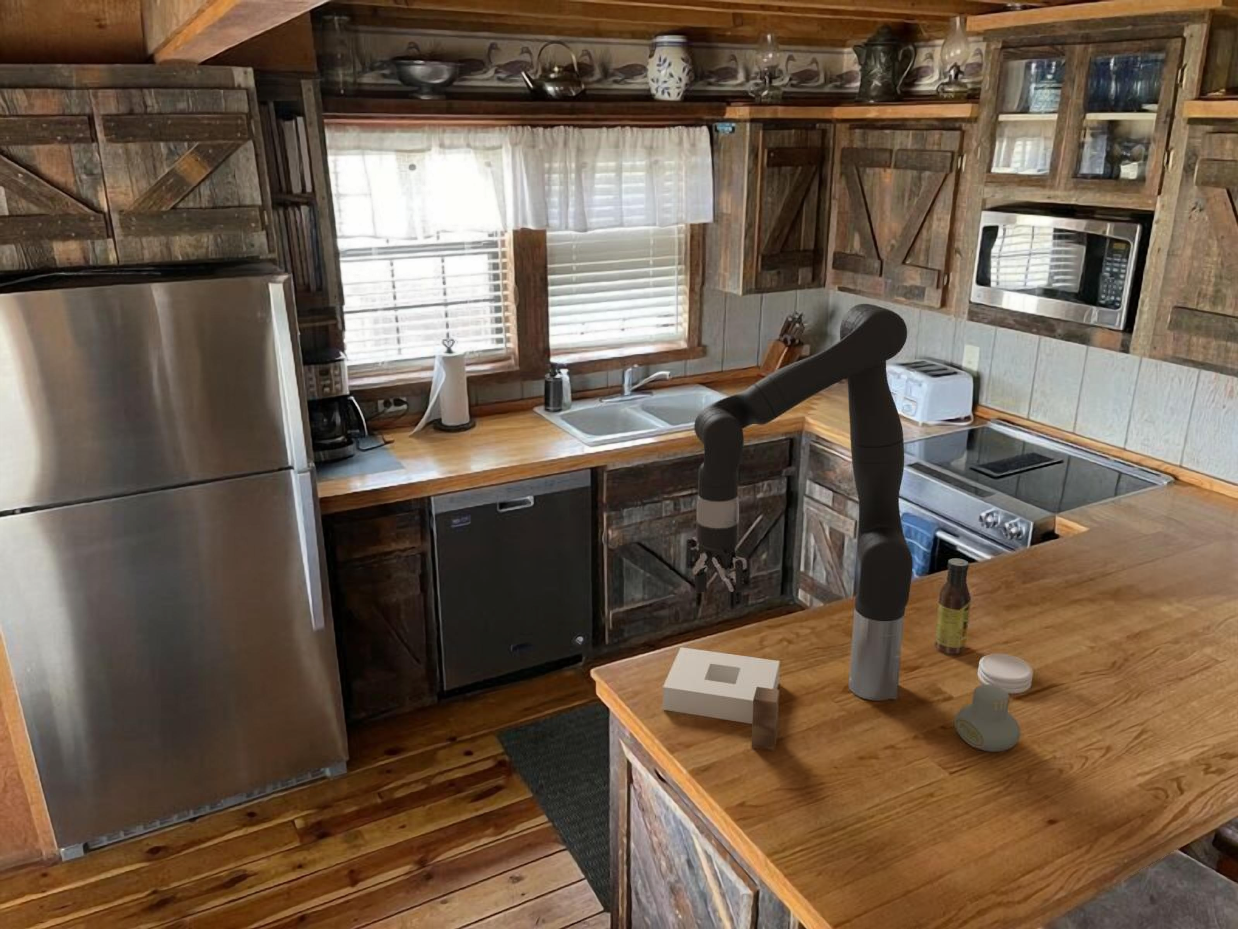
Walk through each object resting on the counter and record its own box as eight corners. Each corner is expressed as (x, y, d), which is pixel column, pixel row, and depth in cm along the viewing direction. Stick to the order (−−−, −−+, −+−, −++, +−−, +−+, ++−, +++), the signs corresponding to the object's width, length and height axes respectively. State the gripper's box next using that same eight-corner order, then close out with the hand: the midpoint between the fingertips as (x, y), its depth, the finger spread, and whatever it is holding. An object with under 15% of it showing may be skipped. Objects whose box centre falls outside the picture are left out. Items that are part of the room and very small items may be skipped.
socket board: (778, 683, 185) (779, 661, 184) (768, 726, 172) (769, 703, 170) (680, 668, 191) (680, 647, 189) (662, 709, 177) (662, 686, 175)
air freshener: (945, 730, 170) (951, 682, 167) (980, 719, 173) (987, 672, 170) (990, 764, 161) (997, 715, 157) (1026, 752, 164) (1033, 703, 160)
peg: (776, 737, 168) (779, 690, 165) (773, 751, 165) (776, 702, 161) (754, 734, 170) (756, 686, 166) (751, 747, 166) (753, 699, 163)
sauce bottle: (966, 657, 193) (977, 570, 187) (935, 654, 195) (945, 568, 188) (962, 641, 199) (972, 557, 193) (932, 638, 201) (941, 554, 194)
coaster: (1035, 697, 180) (1038, 681, 179) (981, 692, 182) (983, 676, 181) (1025, 670, 189) (1027, 654, 188) (973, 665, 191) (975, 650, 190)
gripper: (761, 524, 163) (759, 607, 168) (705, 502, 174) (704, 580, 179) (731, 535, 159) (729, 620, 164) (675, 512, 169) (675, 592, 175)
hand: (716, 599), depth 172 cm, fingers open, 8 cm apart
